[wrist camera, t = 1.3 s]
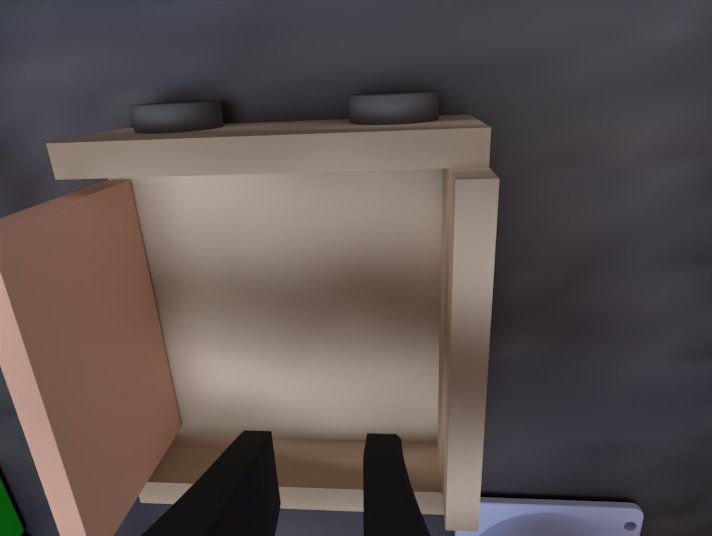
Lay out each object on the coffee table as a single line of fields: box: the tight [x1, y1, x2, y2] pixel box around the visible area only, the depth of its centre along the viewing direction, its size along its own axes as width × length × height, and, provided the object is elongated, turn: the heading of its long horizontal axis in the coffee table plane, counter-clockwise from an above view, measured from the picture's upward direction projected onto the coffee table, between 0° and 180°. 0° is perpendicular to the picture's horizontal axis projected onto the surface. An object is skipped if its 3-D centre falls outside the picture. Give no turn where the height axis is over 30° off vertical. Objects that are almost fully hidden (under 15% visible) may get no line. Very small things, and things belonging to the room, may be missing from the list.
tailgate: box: [0, 180, 181, 536], centre depth 15 cm, size 1×10×6 cm, turn 2°
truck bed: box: [46, 91, 500, 532], centre depth 17 cm, size 15×12×6 cm
